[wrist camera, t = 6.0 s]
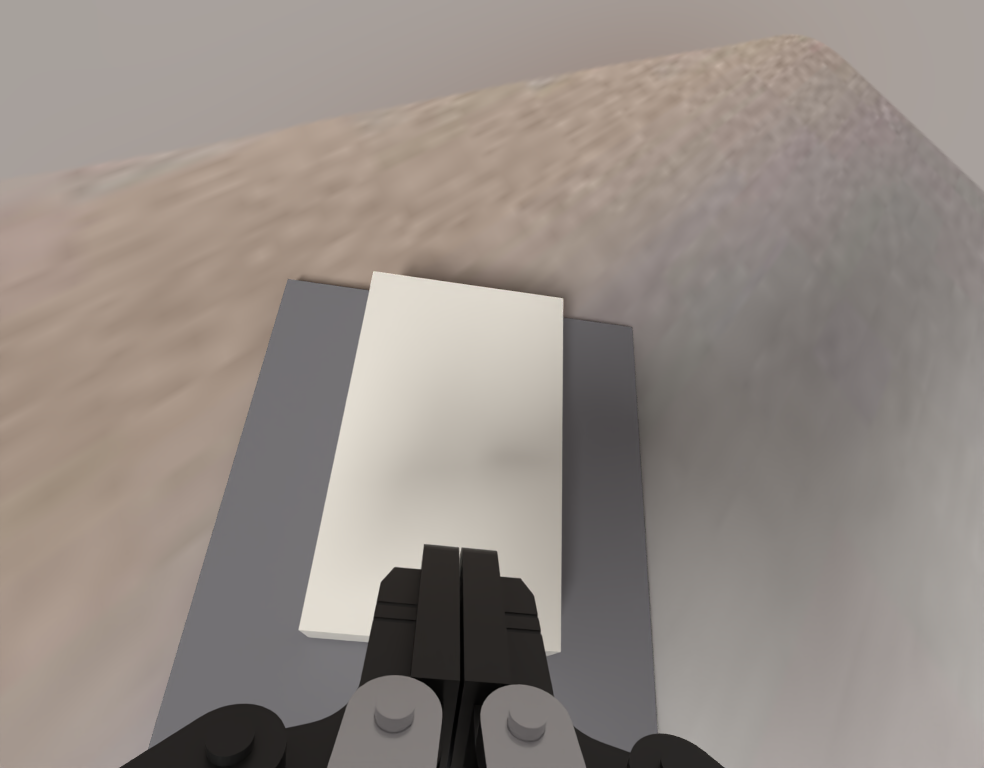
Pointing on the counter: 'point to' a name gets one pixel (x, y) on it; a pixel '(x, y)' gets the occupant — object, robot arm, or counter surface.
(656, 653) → the counter surface
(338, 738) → the robot arm
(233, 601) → the rubber mat
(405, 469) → the cream white block
